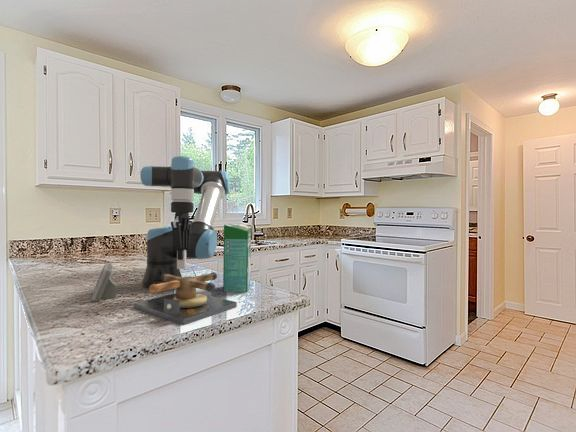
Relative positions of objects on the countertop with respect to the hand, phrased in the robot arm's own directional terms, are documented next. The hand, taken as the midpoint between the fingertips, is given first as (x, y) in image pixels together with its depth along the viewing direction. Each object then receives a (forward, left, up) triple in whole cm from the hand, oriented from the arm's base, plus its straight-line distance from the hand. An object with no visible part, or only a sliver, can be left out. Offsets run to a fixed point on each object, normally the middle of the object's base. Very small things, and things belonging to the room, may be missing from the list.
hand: (181, 268), depth 114 cm
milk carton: (+8, +19, -10) cm, 23 cm away
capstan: (+12, -8, -8) cm, 16 cm away
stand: (+12, -8, -10) cm, 17 cm away
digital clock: (-21, -17, -10) cm, 29 cm away
